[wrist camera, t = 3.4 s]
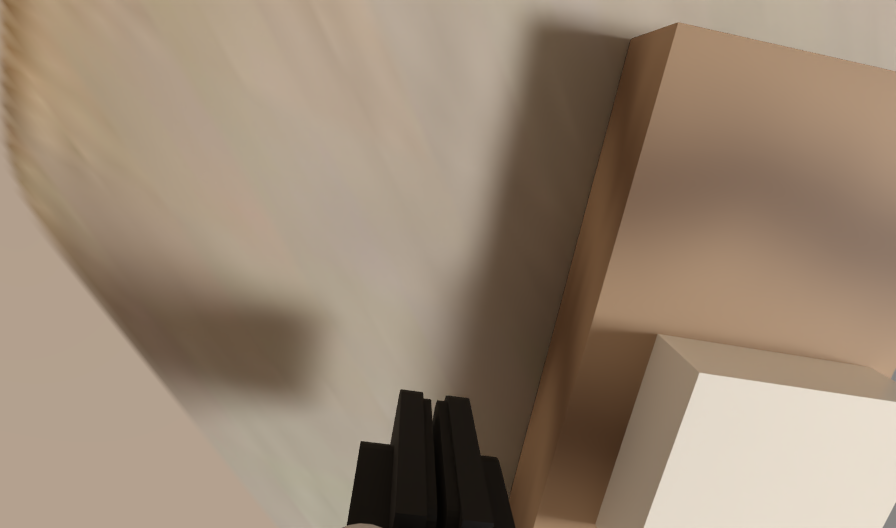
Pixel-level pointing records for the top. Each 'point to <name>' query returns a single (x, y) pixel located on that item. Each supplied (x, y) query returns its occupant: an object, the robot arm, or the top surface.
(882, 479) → the block
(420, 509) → the robot arm
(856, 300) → the board
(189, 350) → the top surface
